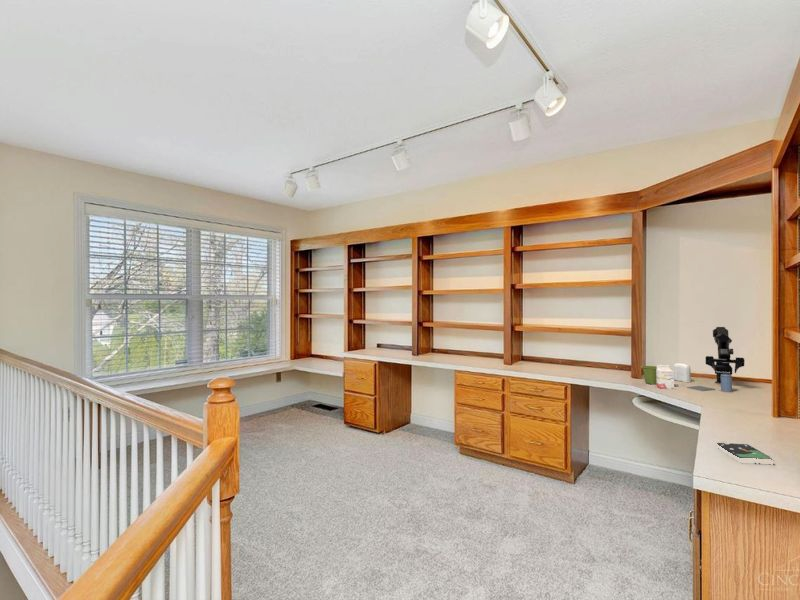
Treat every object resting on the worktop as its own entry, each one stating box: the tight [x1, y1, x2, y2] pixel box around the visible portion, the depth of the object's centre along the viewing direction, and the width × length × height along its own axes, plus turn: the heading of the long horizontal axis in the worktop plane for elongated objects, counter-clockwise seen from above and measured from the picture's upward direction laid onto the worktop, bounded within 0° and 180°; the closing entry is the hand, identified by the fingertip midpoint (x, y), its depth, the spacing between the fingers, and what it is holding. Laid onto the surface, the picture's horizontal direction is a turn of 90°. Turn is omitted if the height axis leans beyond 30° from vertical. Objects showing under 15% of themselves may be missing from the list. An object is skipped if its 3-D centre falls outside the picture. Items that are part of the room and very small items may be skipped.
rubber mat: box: [686, 385, 716, 392], centre depth 247 cm, size 10×10×2 cm
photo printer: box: [673, 362, 692, 383], centre depth 275 cm, size 10×4×12 cm, turn 17°
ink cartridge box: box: [656, 364, 675, 390], centre depth 256 cm, size 9×5×15 cm, turn 77°
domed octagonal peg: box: [720, 374, 733, 393], centre depth 238 cm, size 5×5×10 cm
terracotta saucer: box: [718, 389, 735, 394], centre depth 238 cm, size 7×7×5 cm
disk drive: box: [716, 442, 773, 460], centre depth 145 cm, size 10×3×15 cm
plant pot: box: [640, 365, 657, 385], centre depth 271 cm, size 12×12×11 cm
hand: (725, 372), depth 243 cm, fingers open, 9 cm apart
